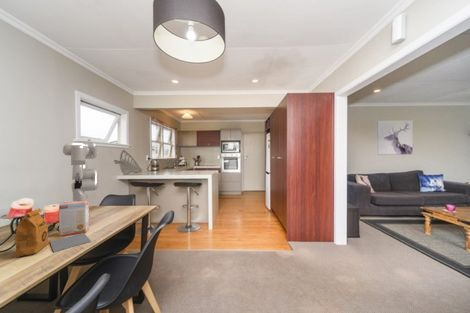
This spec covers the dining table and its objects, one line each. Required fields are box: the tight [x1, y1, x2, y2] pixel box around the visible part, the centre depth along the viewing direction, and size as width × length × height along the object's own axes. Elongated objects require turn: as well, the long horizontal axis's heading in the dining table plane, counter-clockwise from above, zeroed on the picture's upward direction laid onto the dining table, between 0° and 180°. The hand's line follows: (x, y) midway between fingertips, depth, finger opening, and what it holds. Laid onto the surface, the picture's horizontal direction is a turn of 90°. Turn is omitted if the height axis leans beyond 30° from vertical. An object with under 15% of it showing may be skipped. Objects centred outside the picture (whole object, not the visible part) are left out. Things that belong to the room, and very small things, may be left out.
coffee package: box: [14, 208, 49, 258], centre depth 98 cm, size 10×12×22 cm
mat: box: [49, 233, 92, 253], centre depth 108 cm, size 18×16×1 cm
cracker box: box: [58, 200, 90, 237], centre depth 121 cm, size 14×6×21 cm, turn 112°
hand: (78, 187), depth 126 cm, fingers open, 9 cm apart
